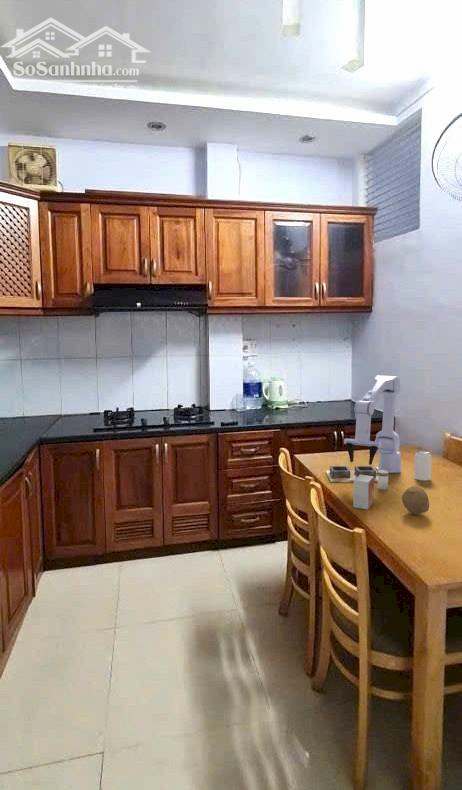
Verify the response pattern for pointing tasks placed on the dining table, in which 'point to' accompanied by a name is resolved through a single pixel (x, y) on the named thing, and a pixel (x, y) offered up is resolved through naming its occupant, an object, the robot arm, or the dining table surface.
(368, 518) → the dining table surface
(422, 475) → the can
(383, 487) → the small lidded jar
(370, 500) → the small box
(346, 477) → the socket panel
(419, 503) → the natural sponge
